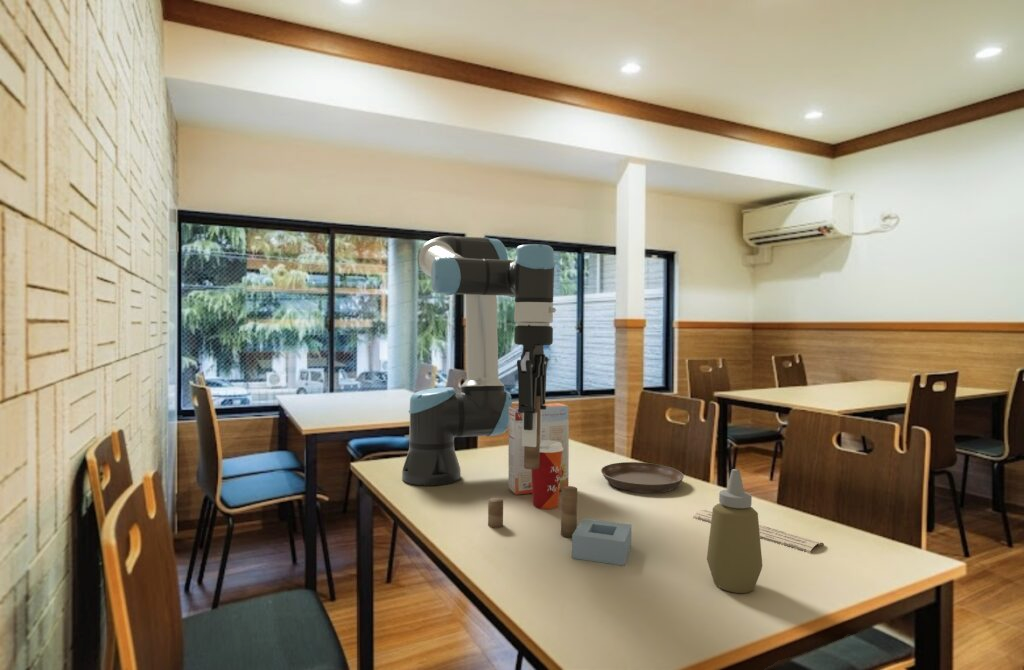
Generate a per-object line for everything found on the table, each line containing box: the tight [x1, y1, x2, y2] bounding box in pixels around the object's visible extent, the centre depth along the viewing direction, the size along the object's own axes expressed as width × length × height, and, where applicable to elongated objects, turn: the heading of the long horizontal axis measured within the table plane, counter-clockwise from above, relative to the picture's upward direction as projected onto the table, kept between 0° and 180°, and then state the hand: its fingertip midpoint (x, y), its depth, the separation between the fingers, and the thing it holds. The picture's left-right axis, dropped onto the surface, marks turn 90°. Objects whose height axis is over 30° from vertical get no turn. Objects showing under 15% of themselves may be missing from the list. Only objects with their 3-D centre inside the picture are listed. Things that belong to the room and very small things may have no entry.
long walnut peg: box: [524, 396, 540, 469], centre depth 111 cm, size 3×3×14 cm
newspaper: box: [692, 509, 825, 554], centre depth 112 cm, size 24×7×2 cm, turn 39°
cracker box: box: [507, 402, 570, 496], centre depth 138 cm, size 14×6×21 cm, turn 108°
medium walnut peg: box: [560, 485, 578, 539], centre depth 108 cm, size 3×3×9 cm
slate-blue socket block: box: [571, 518, 632, 567], centre depth 100 cm, size 9×9×4 cm
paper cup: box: [531, 440, 563, 510], centre depth 126 cm, size 8×8×14 cm
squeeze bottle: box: [706, 468, 763, 594], centre depth 88 cm, size 8×8×18 cm
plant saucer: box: [600, 461, 685, 494], centre depth 145 cm, size 21×21×3 cm
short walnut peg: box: [487, 497, 504, 529], centre depth 113 cm, size 3×3×5 cm
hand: (531, 444), depth 111 cm, fingers closed on long walnut peg, 3 cm apart
